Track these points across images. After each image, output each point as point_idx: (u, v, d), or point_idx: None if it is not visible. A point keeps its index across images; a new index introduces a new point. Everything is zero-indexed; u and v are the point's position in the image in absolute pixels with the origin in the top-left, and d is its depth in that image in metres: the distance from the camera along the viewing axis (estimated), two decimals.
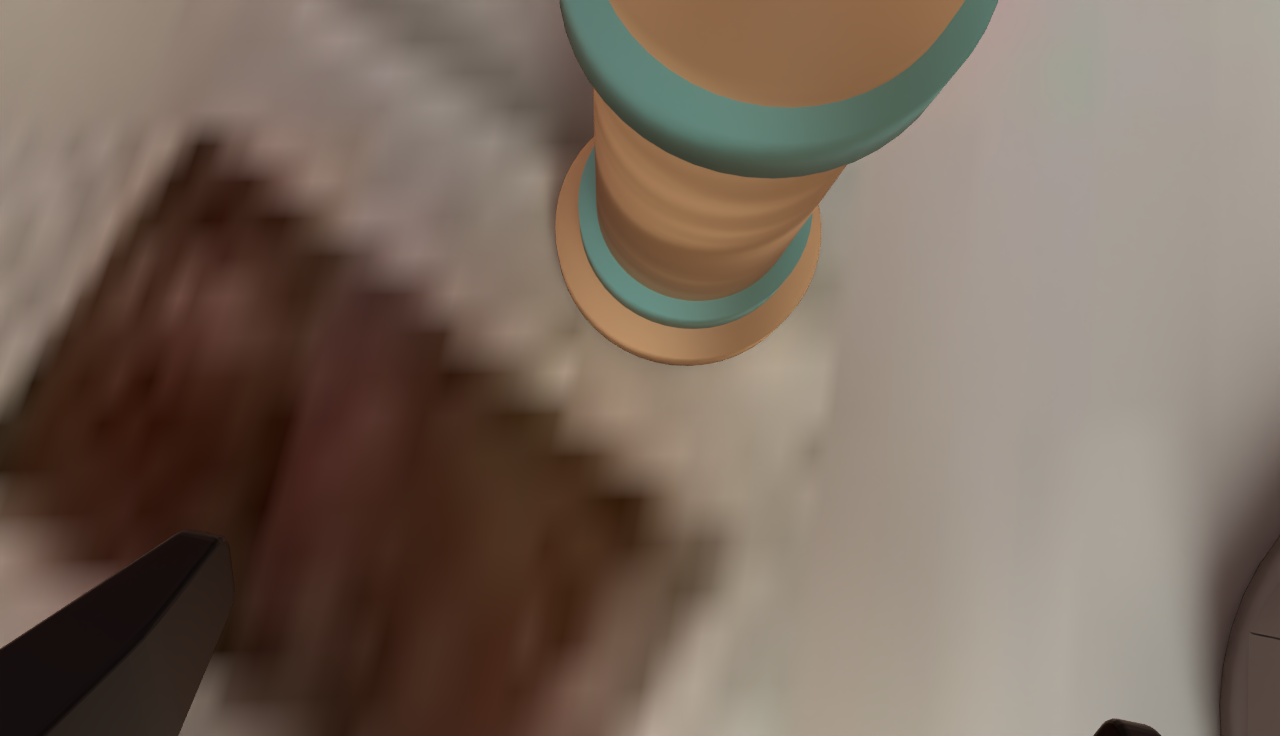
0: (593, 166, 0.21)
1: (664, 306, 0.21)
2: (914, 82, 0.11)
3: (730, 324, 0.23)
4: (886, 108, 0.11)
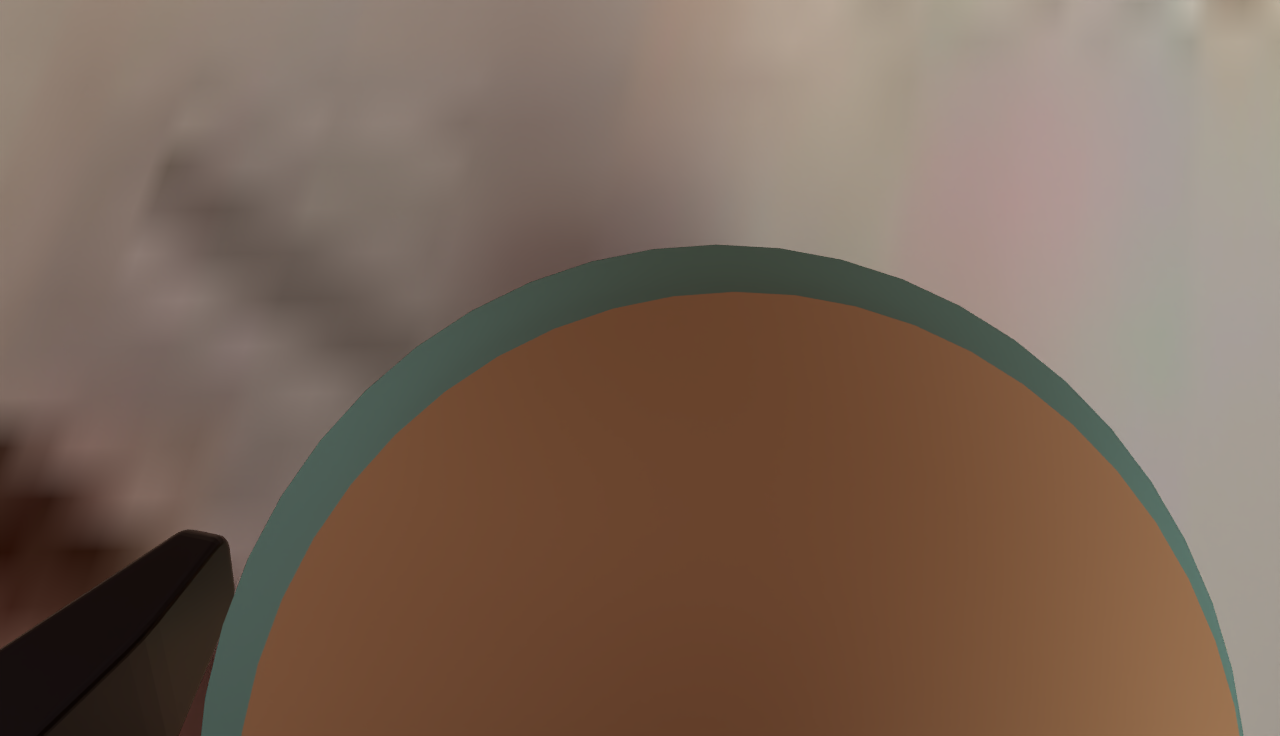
0: None
1: None
2: None
3: None
4: None
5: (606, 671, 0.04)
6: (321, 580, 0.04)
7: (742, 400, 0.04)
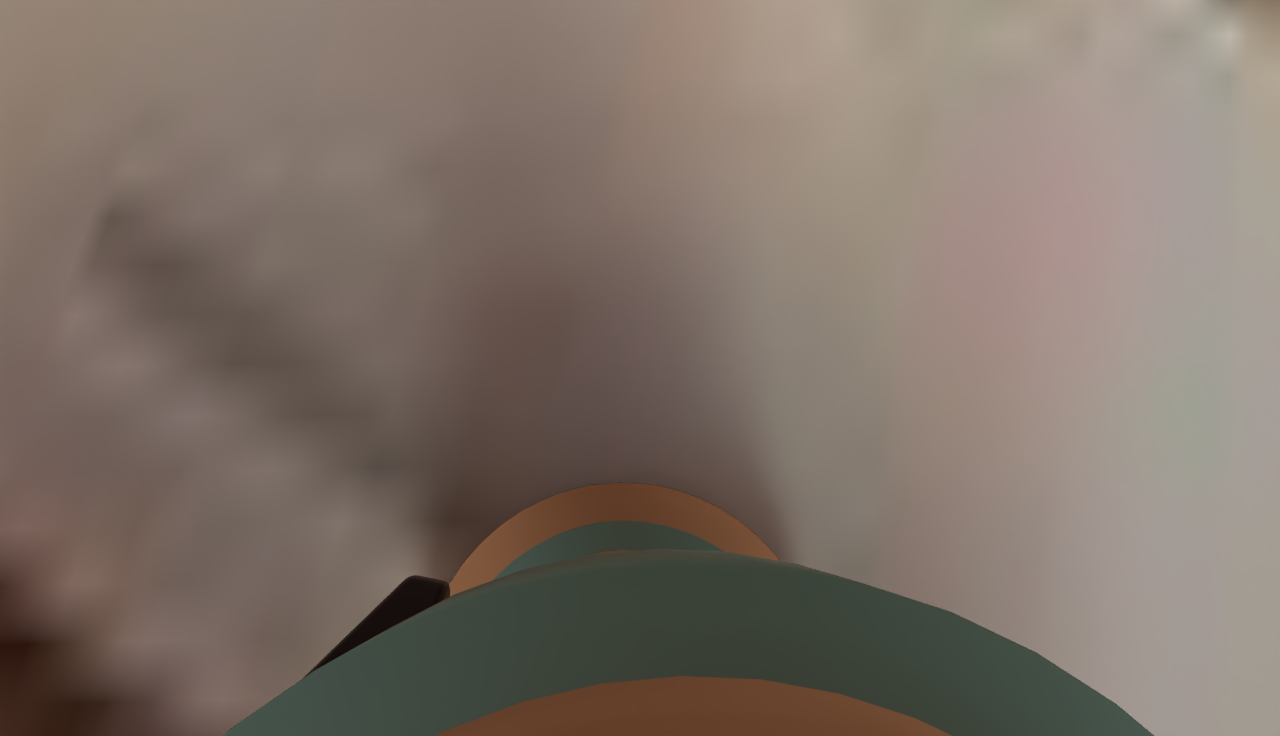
0: None
1: None
2: None
3: None
4: None
5: None
6: None
7: None
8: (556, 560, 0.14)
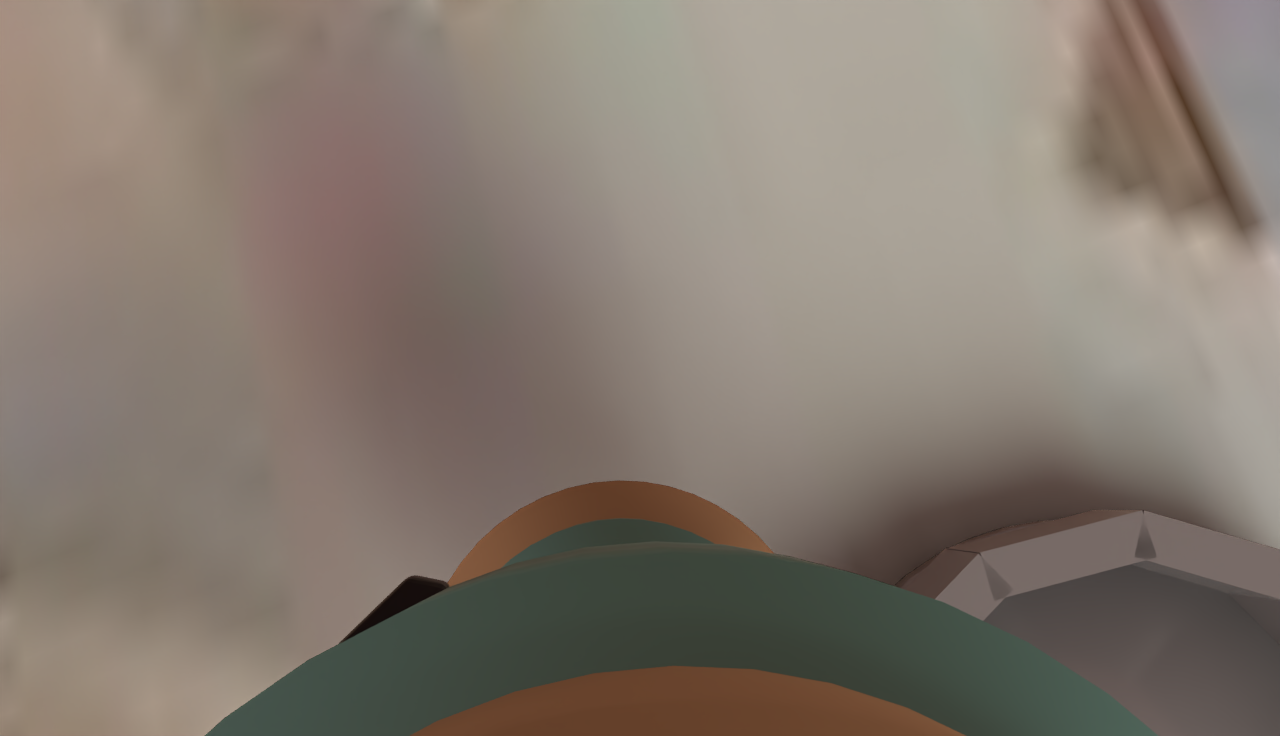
0: None
1: None
2: None
3: None
4: None
5: None
6: None
7: None
8: None
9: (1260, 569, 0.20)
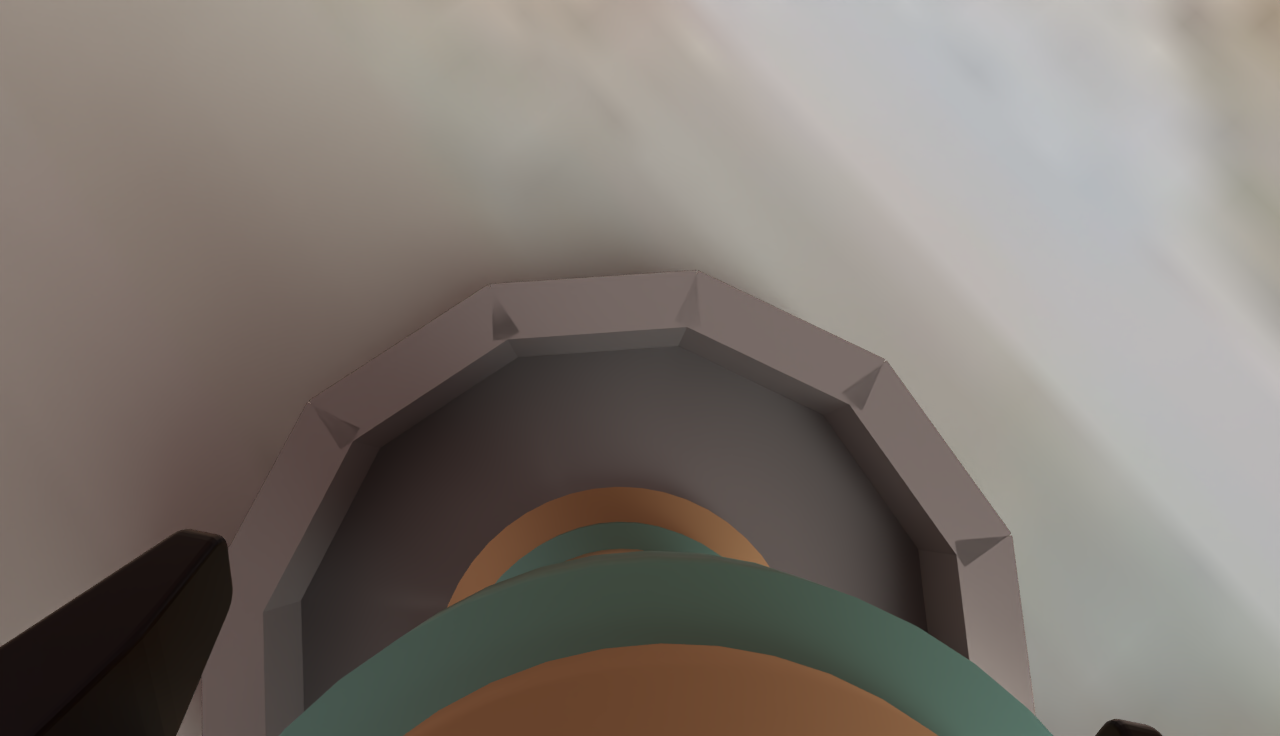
0: None
1: None
2: None
3: None
4: None
5: None
6: None
7: None
8: (559, 558, 0.15)
9: (643, 302, 0.17)
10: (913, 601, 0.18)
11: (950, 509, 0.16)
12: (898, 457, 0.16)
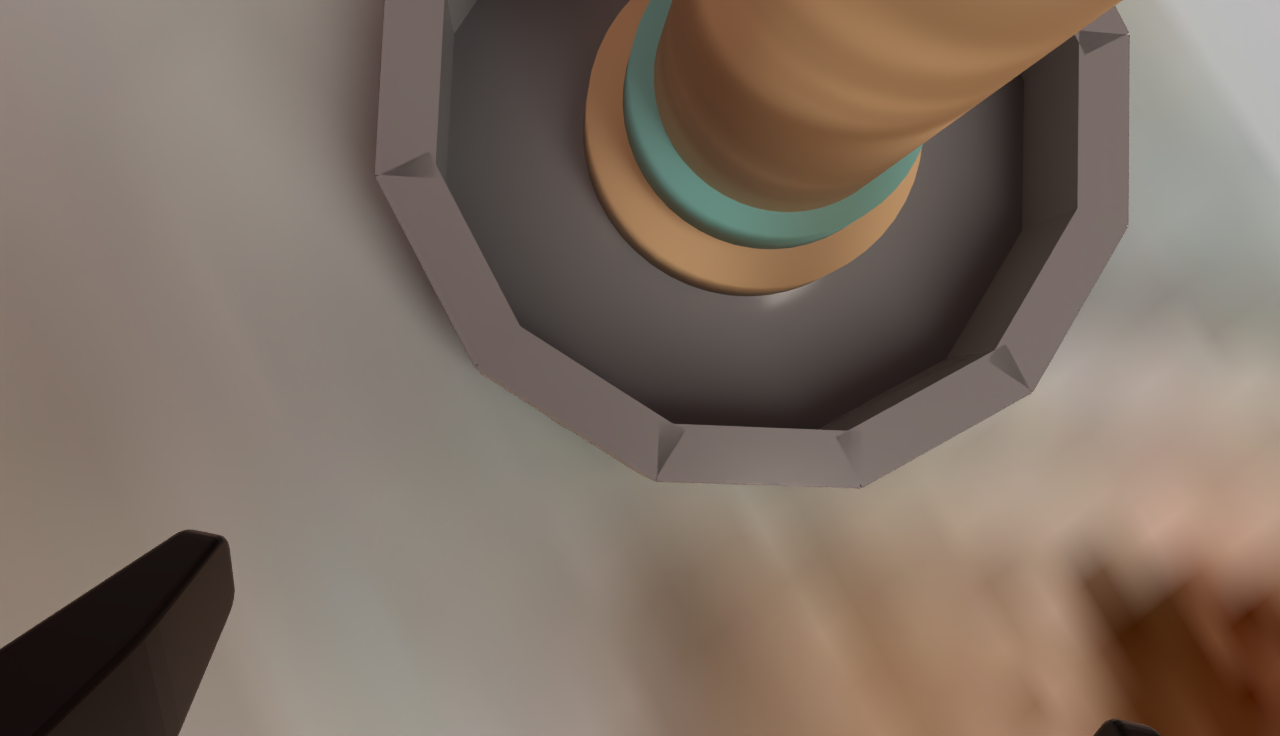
0: (656, 12, 0.16)
1: (726, 211, 0.16)
2: None
3: (794, 249, 0.18)
4: None
5: None
6: None
7: None
8: None
9: None
10: (1013, 125, 0.20)
11: None
12: None
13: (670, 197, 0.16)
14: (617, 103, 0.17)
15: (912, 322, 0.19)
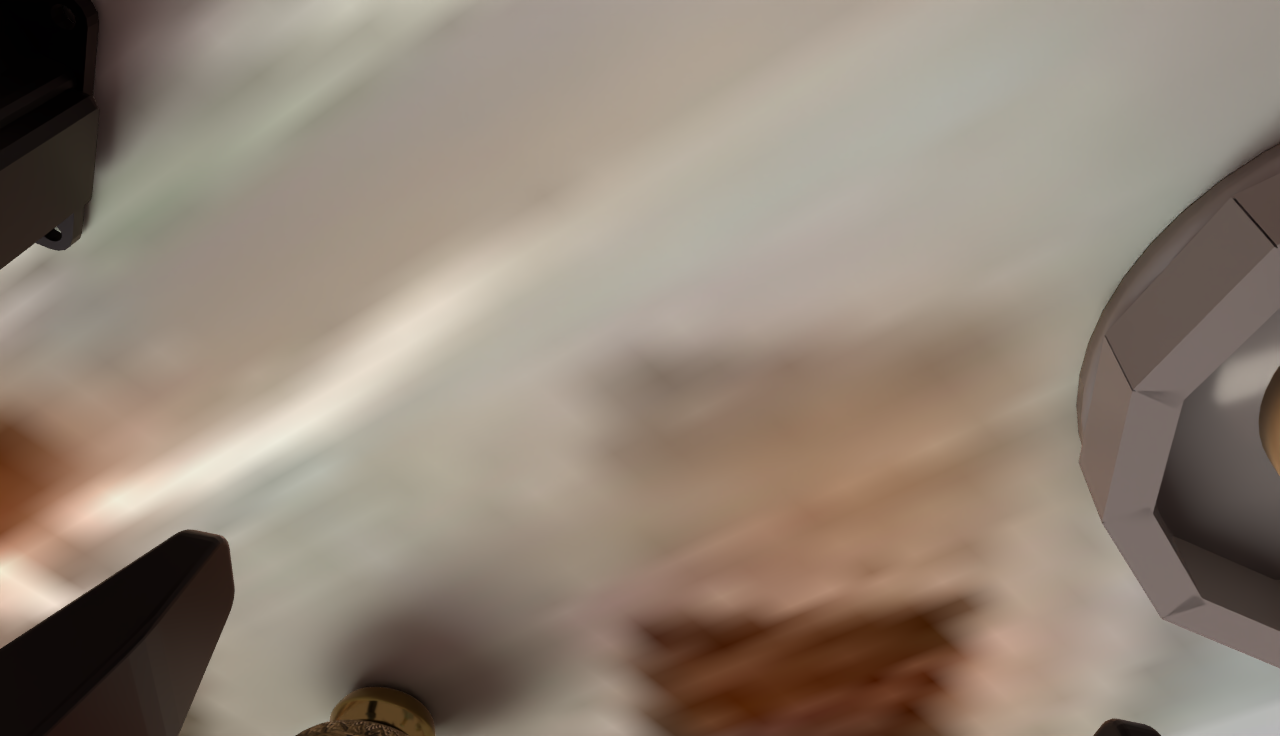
0: None
1: None
2: None
3: None
4: None
5: None
6: None
7: None
8: None
9: None
10: None
11: None
12: None
13: None
14: None
15: (1209, 514, 0.23)
